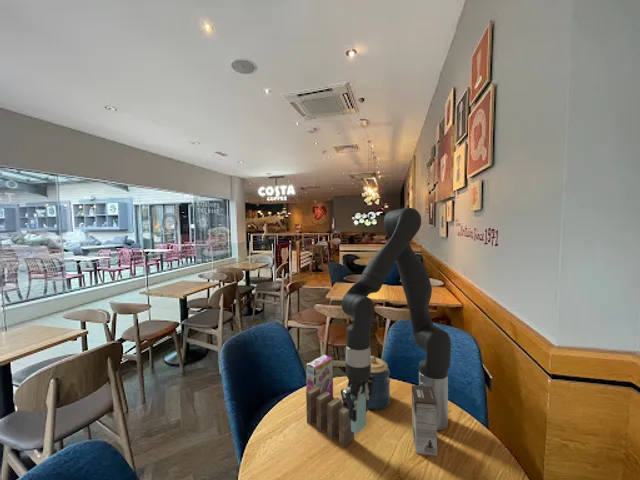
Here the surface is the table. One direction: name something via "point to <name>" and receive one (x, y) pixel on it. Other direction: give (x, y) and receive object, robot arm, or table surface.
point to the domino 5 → (359, 414)
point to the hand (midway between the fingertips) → (358, 415)
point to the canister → (379, 385)
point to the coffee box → (424, 420)
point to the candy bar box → (320, 374)
